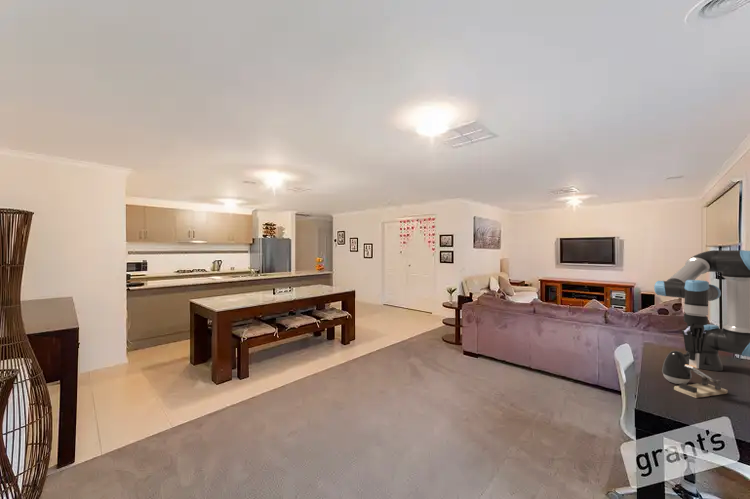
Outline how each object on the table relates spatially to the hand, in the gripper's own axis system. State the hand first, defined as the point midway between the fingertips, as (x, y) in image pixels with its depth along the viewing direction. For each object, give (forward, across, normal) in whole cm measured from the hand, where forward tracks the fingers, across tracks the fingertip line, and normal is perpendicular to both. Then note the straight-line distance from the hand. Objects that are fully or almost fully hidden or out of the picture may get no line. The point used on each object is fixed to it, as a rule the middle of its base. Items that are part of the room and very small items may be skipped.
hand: (693, 367), depth 140 cm
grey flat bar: (+4, -4, 0) cm, 6 cm away
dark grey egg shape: (+11, -6, -10) cm, 16 cm away
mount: (+11, -5, 0) cm, 12 cm away
